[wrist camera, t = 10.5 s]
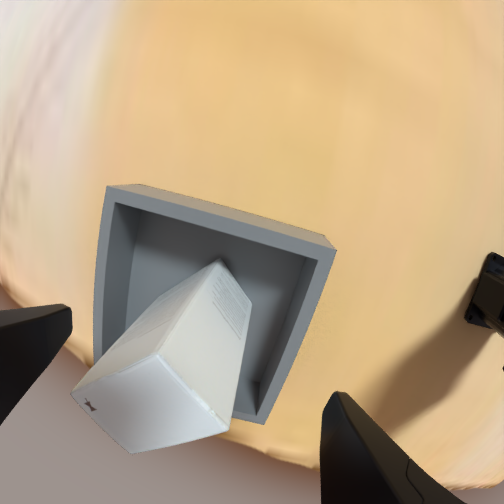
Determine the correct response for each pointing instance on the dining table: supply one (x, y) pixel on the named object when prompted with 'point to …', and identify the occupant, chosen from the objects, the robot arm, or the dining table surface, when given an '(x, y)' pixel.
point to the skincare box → (173, 366)
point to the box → (199, 256)
